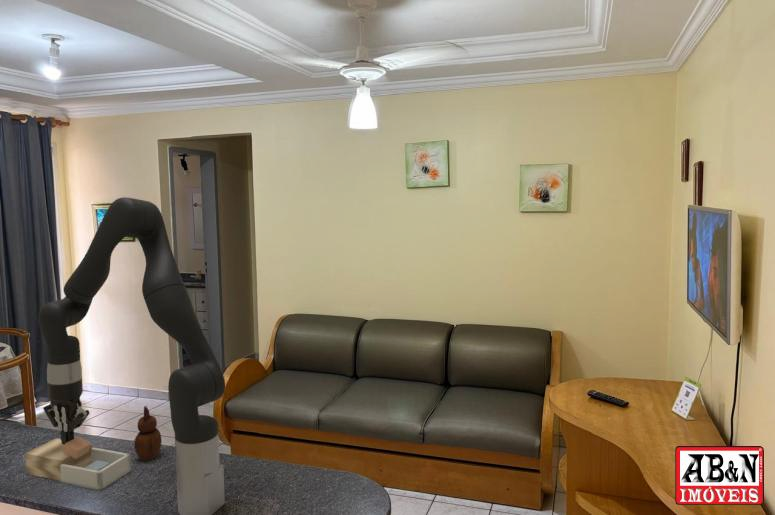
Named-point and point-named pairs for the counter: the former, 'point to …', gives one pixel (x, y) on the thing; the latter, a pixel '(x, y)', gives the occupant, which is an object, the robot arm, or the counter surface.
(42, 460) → the wooden block
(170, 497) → the counter surface
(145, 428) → the wooden figurine
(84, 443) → the terracotta tile
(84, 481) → the tray
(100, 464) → the slate tile
